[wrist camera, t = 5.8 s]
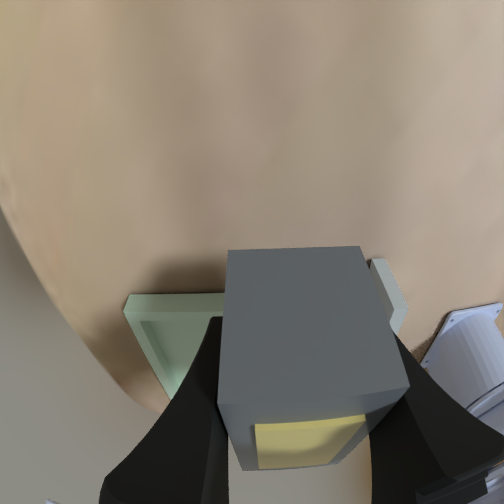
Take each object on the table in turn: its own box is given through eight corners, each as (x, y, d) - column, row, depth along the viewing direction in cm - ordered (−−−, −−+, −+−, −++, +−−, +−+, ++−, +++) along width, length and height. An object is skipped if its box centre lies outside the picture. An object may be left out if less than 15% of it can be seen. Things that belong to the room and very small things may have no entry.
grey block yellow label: (325, 372, 16) (338, 467, 12) (243, 377, 16) (242, 474, 12) (359, 246, 11) (411, 393, 6) (227, 250, 11) (217, 411, 6)
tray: (261, 397, 32) (261, 410, 31) (178, 396, 33) (177, 409, 31) (255, 291, 22) (255, 310, 21) (129, 294, 22) (122, 311, 21)
